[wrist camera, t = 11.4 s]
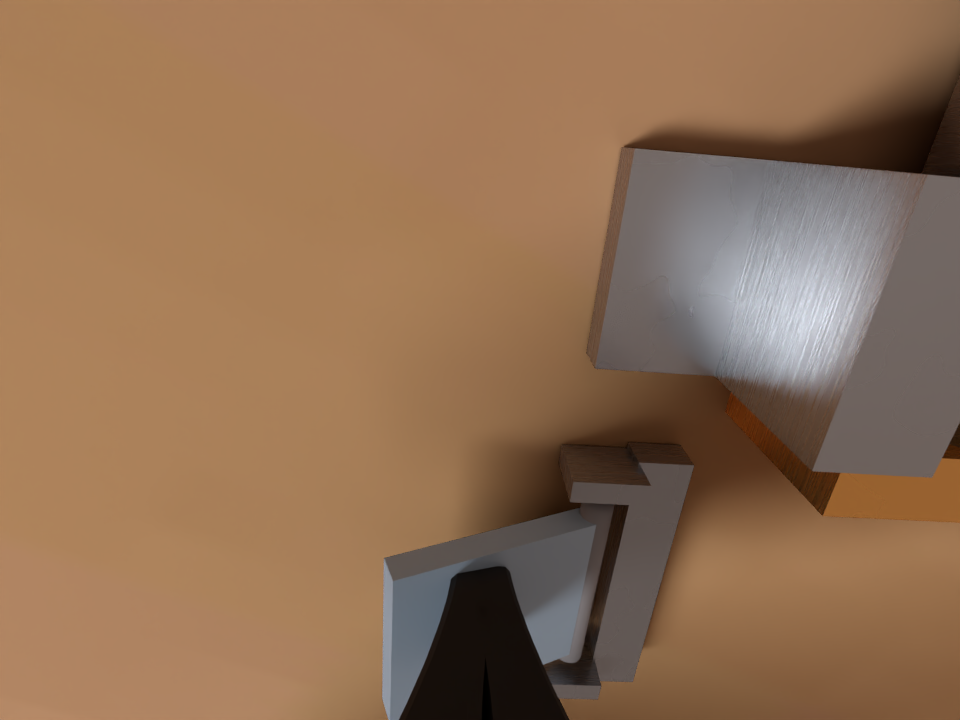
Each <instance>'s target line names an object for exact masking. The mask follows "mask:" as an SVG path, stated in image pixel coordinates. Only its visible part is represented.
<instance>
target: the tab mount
mask: <svg viewBox="0 0 960 720" xmlns="http://www.w3.org/2000/svg"><path fill="white" fill-rule="evenodd" d="M559 466H560V469H561V473H562V476H563V480H564V483H565V487H566V490H567V494H568V497H569V501H570V502H576V503H597V504H615V505H614V510H613V514H612V519H611V523H610V528H609V532H608V537H607V541H606V546H605V550H604V555H603V559H602V564H601V568H600V573H599V577H598V582H597V586H596V591H595V595H594V600H593V604H592V609H591V614H590V618H589V623H588V627H587V632H586V636H585V641H584V645H583V650H582V654H581V657H580V659H579V660H578V661H577V662H574V663H566V662H564V661H562V660H560V659H557V660H554V661H552V662H549V663H547V664H544V665H543V666H544V668H545V670H546V673H547V675H548V677H549V679H550V681H551V683H552V686H553V688H554V690H555V692H556V694H557V696H558V698H564V699H598V697H599V693H600V689H601V683H600V681H616V682H633V679H634V676H635V672H636V669H637V665H638V662H639V658H640V655H641V651H642V647H643V644H644V640H645V637H646V633H647V630H648V626H649V623H650V619H651V616H652V612H653V609H654V605H655V602H656V598H657V595H658V591H659V588H660V584H661V581H662V577H663V574H664V570H665V567H666V563H667V560H668V556H669V553H670V549H671V545H672V542H673V538H674V535H675V531H676V528H677V524H678V521H679V517H680V514H681V510H682V507H683V503H684V500H685V496H686V493H687V489H688V486H689V482H690V479H691V475H692V472H693V468H694V464H693V463H692V462H691V460H690V459H689V457H688V456H687V454H686V453H685V451H684V450H683V448H682V447H681V446H680V445H669V444H651V443H633V442H628V446H627V448H619V447H601V446H583V445H565V444H562V446H561V452H560V458H559Z"/></svg>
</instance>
